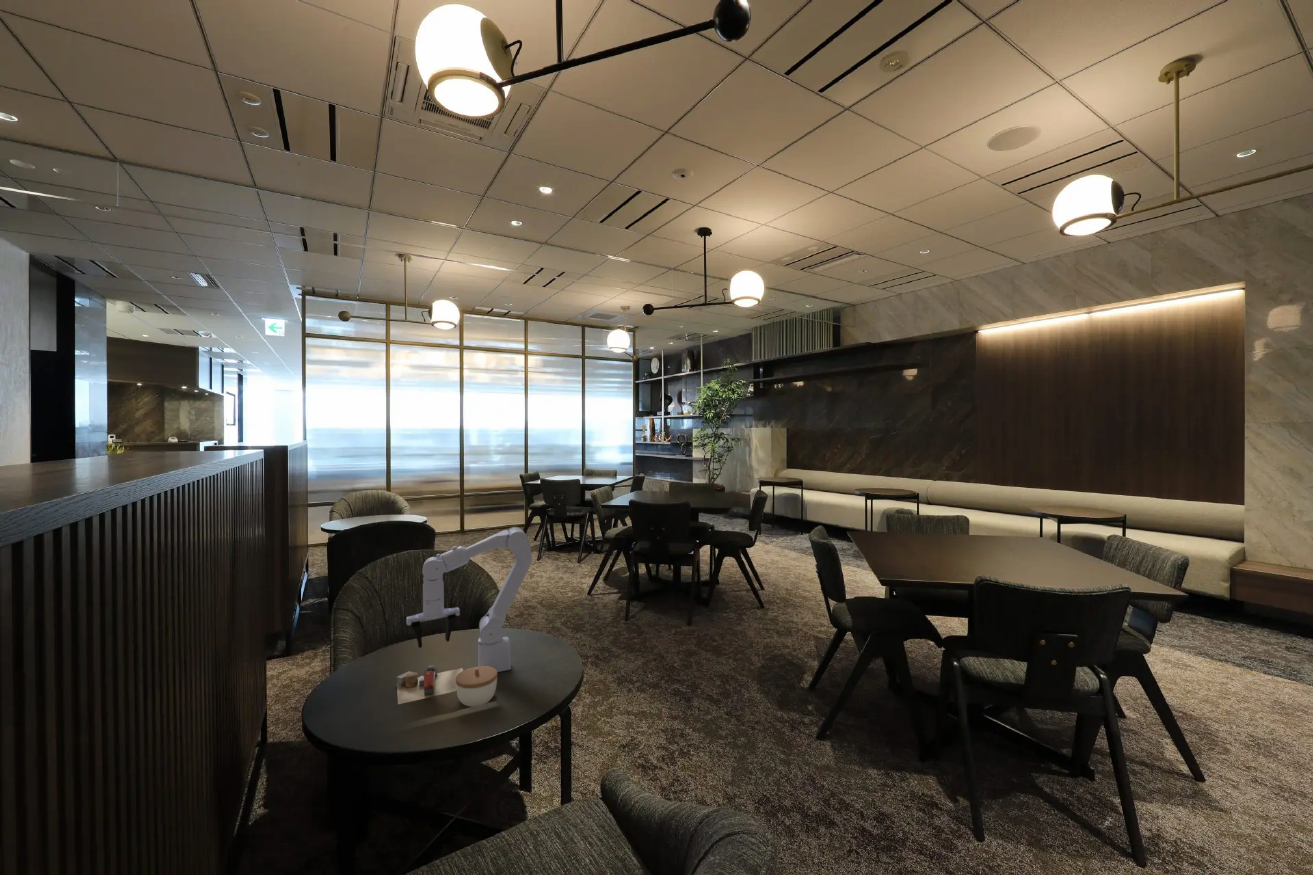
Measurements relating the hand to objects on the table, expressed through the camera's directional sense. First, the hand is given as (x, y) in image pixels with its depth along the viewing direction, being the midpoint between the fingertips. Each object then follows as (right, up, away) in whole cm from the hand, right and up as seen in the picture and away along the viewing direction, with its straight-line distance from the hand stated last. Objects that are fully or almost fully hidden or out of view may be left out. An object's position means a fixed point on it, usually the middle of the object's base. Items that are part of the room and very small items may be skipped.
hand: (433, 643), depth 152 cm
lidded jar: (+18, -11, -14) cm, 25 cm away
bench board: (+2, -10, -7) cm, 13 cm away
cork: (-3, -9, -7) cm, 12 cm away
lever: (+1, -9, -6) cm, 11 cm away
